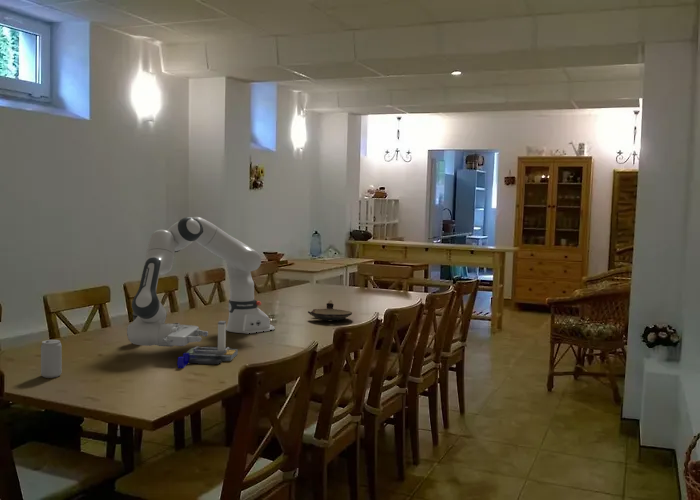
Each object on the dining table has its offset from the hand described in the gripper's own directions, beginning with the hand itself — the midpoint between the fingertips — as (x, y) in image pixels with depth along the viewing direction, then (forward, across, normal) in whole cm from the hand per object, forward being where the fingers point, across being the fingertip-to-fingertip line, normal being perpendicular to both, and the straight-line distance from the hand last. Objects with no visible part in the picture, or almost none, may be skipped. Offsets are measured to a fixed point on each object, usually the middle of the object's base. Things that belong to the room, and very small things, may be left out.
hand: (204, 336), depth 253 cm
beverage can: (-44, -34, +8) cm, 56 cm away
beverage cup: (-32, +20, +8) cm, 38 cm away
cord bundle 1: (+3, +10, +8) cm, 13 cm away
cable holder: (-5, -14, +8) cm, 17 cm away
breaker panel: (+3, 0, +8) cm, 8 cm away
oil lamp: (+44, +86, +8) cm, 96 cm away
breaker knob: (+7, 0, +6) cm, 9 cm away
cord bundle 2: (+3, -10, +8) cm, 13 cm away
